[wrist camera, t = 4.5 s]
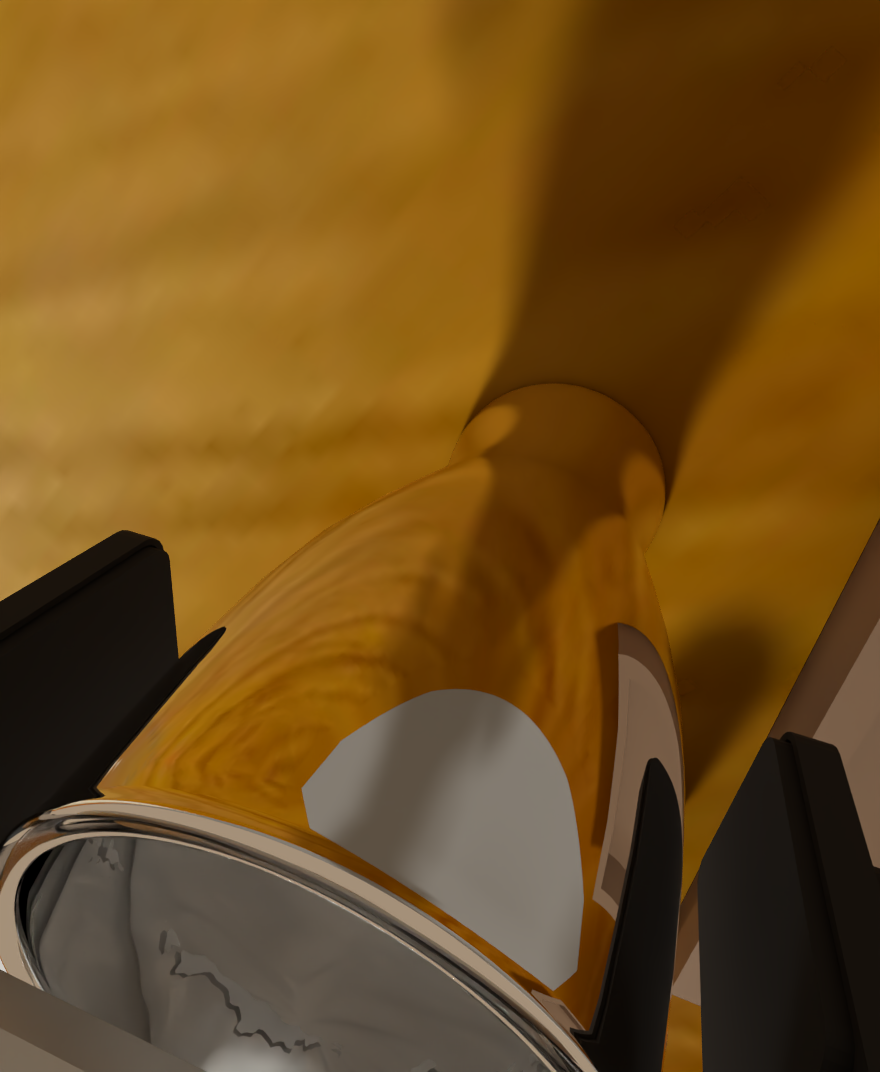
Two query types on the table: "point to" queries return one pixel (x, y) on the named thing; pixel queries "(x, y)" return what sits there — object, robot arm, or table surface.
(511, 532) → the silver metal tumbler
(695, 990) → the tray
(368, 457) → the table surface
